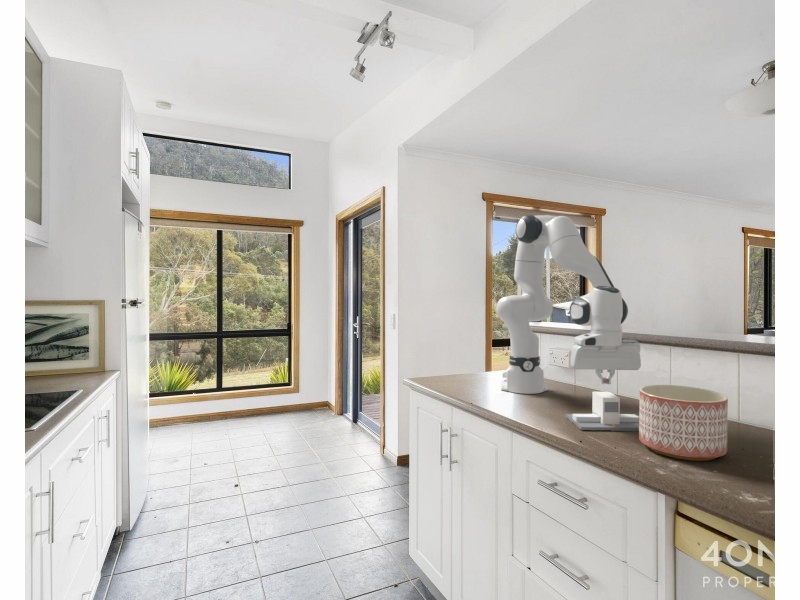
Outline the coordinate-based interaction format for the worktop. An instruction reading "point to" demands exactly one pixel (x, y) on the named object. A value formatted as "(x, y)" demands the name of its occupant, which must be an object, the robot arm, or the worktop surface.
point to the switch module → (606, 407)
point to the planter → (683, 421)
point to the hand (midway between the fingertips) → (604, 383)
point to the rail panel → (594, 423)
